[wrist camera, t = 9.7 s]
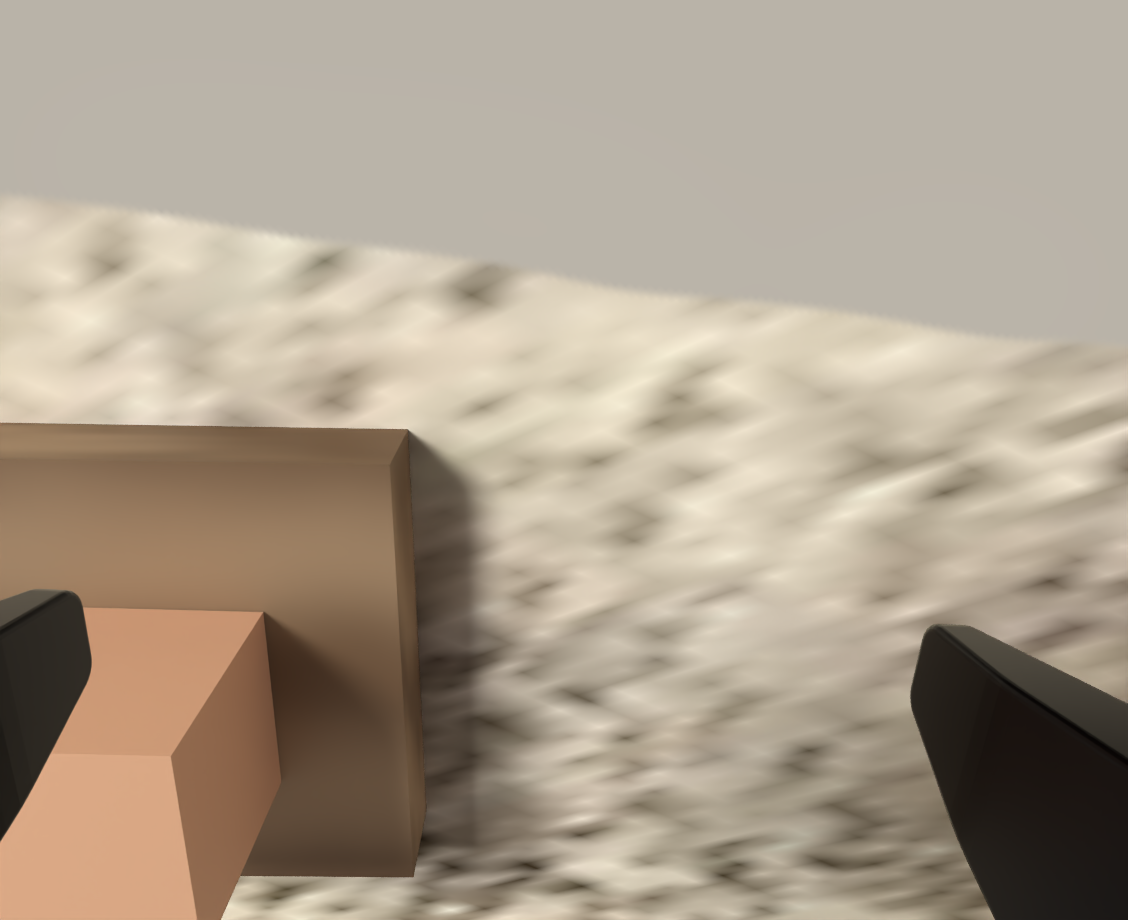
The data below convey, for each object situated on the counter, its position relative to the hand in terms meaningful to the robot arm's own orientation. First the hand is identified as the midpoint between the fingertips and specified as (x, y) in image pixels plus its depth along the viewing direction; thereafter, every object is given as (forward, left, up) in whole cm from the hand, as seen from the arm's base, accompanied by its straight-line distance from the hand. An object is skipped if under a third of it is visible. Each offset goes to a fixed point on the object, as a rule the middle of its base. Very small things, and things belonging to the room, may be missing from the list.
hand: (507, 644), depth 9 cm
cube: (-8, +9, -10) cm, 15 cm away
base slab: (-8, +9, -13) cm, 17 cm away
